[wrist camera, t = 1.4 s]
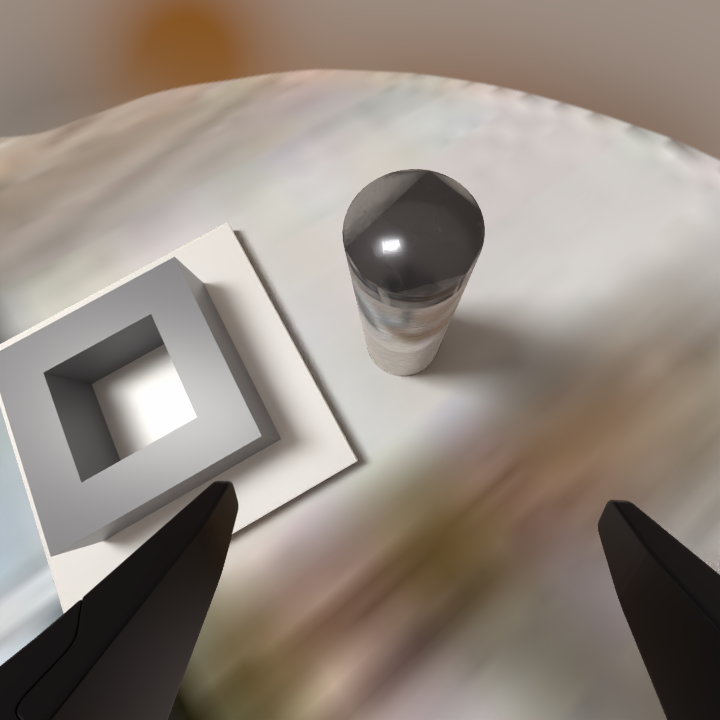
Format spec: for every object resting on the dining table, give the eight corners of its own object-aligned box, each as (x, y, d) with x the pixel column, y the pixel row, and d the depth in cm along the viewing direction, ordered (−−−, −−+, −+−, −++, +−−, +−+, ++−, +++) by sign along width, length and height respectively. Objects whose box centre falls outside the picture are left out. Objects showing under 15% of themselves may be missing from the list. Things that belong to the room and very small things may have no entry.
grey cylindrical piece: (452, 353, 24) (513, 249, 12) (389, 389, 24) (387, 321, 12) (414, 294, 25) (434, 147, 13) (354, 329, 25) (318, 210, 13)
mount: (358, 460, 23) (350, 461, 19) (83, 621, 22) (7, 662, 18) (233, 230, 27) (203, 187, 23) (-1, 356, 27) (-79, 337, 22)
